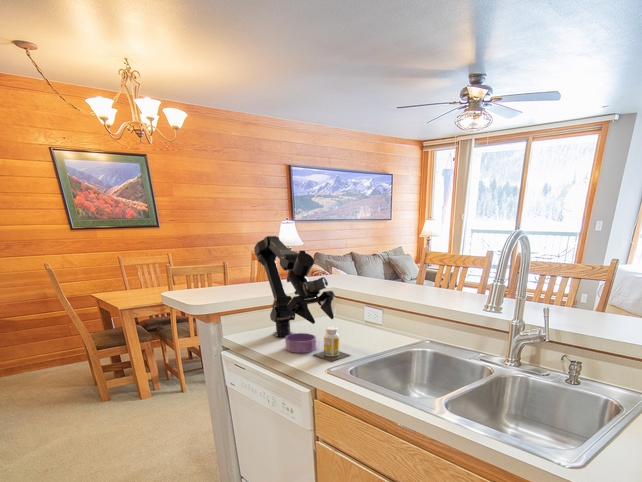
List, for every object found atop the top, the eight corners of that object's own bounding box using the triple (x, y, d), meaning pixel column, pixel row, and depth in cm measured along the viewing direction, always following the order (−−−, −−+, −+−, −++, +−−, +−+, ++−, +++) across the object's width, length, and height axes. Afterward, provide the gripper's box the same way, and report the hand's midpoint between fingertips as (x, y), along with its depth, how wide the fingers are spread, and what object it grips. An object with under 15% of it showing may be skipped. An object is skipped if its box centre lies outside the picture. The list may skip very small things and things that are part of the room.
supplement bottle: (324, 357, 143) (324, 330, 139) (323, 352, 148) (322, 326, 144) (339, 356, 144) (340, 330, 140) (337, 351, 149) (338, 326, 145)
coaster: (313, 355, 146) (313, 354, 146) (331, 349, 152) (331, 349, 152) (332, 361, 141) (331, 360, 140) (349, 355, 147) (349, 354, 147)
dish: (283, 345, 155) (282, 334, 153) (312, 343, 159) (311, 332, 157) (288, 355, 145) (288, 342, 144) (319, 352, 149) (319, 340, 147)
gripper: (291, 272, 133) (315, 311, 131) (331, 267, 146) (353, 303, 144) (277, 293, 141) (299, 330, 139) (316, 286, 154) (337, 321, 152)
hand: (323, 320), depth 144 cm, fingers open, 9 cm apart
